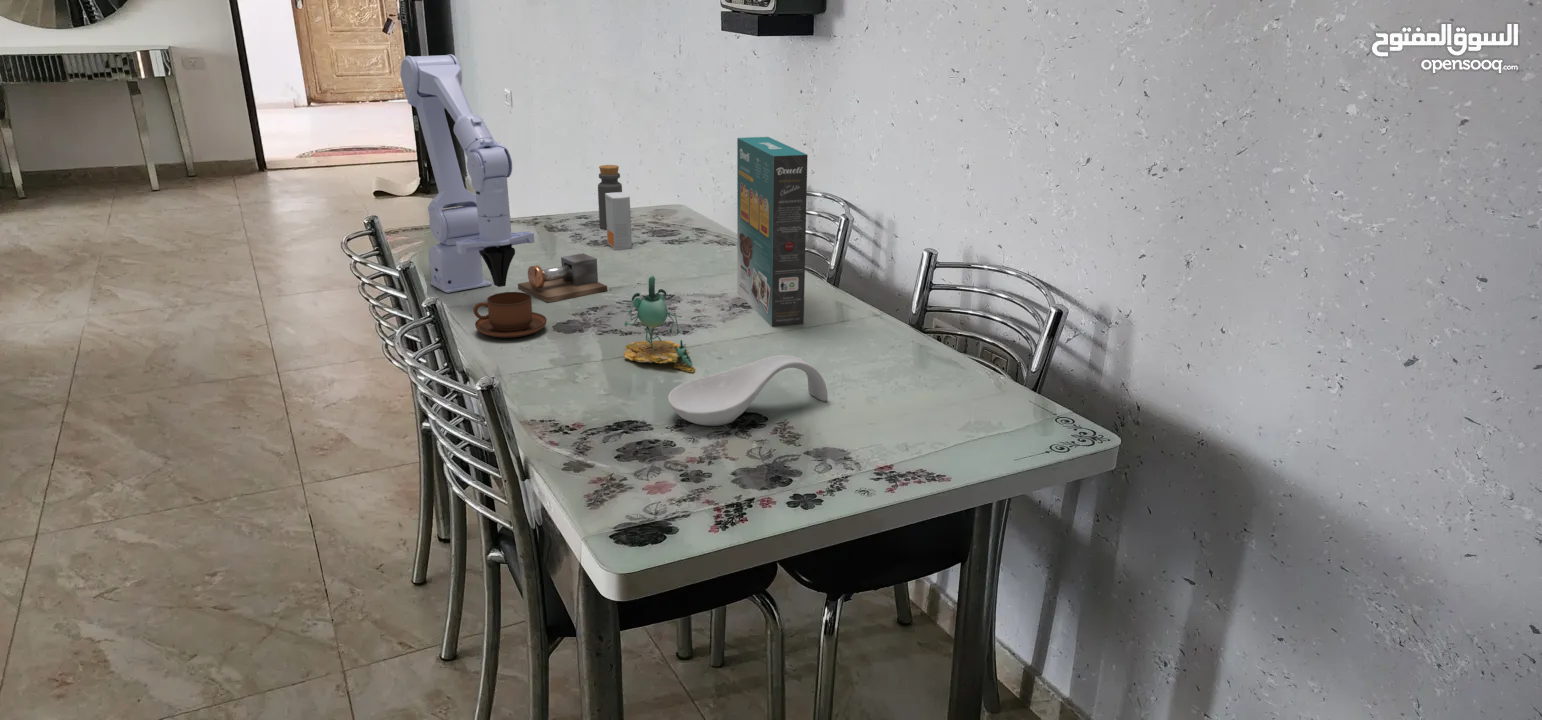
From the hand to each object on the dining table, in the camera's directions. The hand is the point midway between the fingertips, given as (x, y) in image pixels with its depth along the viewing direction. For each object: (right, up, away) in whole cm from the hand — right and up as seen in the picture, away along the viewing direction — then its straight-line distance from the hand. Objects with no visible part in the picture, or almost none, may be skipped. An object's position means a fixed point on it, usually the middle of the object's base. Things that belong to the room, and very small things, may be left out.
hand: (499, 285), depth 190 cm
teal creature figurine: (+33, -14, -27) cm, 44 cm away
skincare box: (+16, +12, +42) cm, 47 cm away
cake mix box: (+51, -4, 0) cm, 51 cm away
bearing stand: (+10, 0, +9) cm, 13 cm away
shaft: (+9, +1, +8) cm, 12 cm away
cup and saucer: (+6, -9, -15) cm, 18 cm away
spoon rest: (+48, -22, -46) cm, 70 cm away
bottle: (+12, +19, +61) cm, 64 cm away
